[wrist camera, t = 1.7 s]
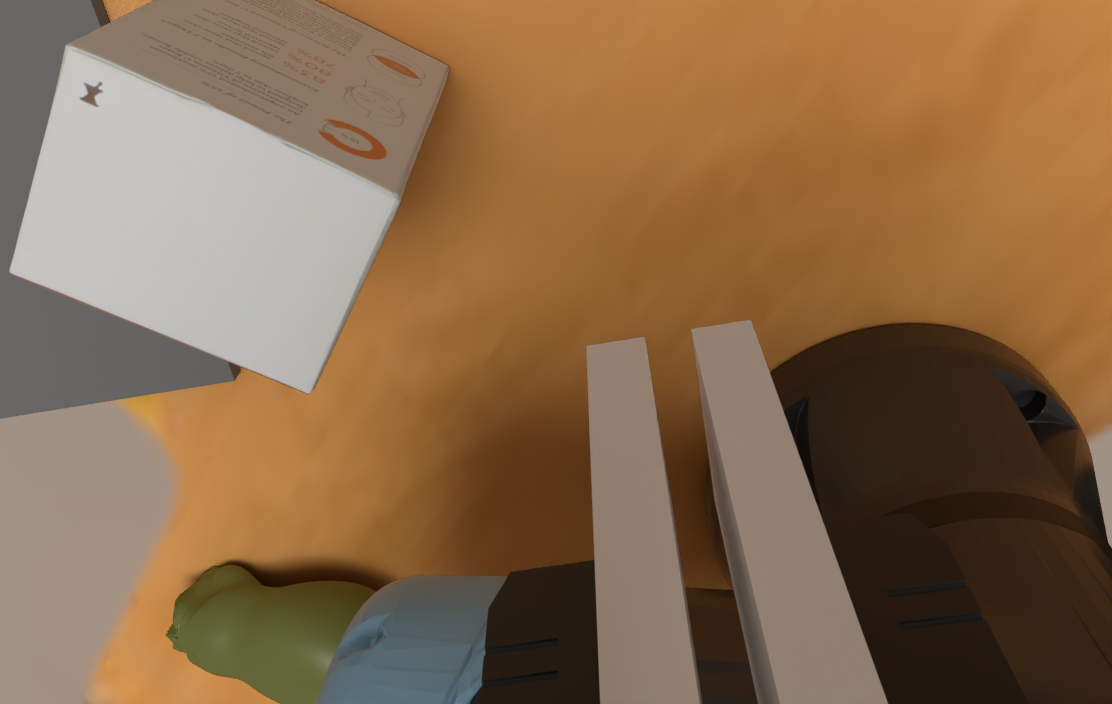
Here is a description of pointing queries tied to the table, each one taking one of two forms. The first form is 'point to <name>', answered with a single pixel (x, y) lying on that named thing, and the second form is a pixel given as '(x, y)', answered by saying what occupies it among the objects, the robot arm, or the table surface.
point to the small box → (227, 174)
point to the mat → (38, 313)
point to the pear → (265, 630)
